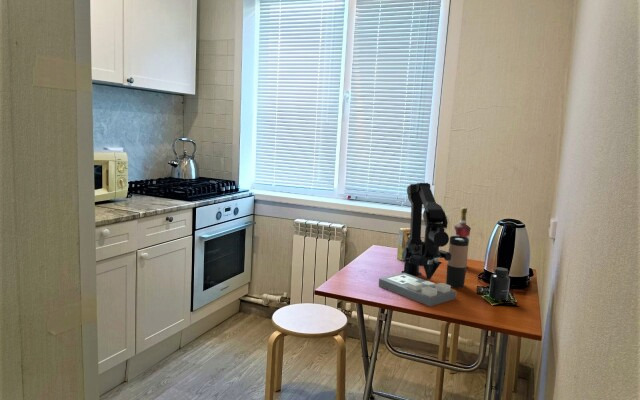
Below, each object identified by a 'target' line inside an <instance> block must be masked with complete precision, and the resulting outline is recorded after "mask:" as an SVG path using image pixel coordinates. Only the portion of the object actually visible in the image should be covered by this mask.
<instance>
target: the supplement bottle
mask: <svg viewBox="0 0 640 400" xmlns="http://www.w3.org/2000/svg"><path fill="white" fill-rule="evenodd" d="M508 275H509V270H508V268H505V267H501V266H500V267H499V266H498V267H496V266H495V267H494V271H493V274H491V276H490V284H489V291H488V292H489V293H488V298H489V297H491V298H492V299H495V300H507V301H508V299H509V298H508V297H509V291H510V283H511V278H510V276H508ZM492 299H491V300H492Z"/></svg>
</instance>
